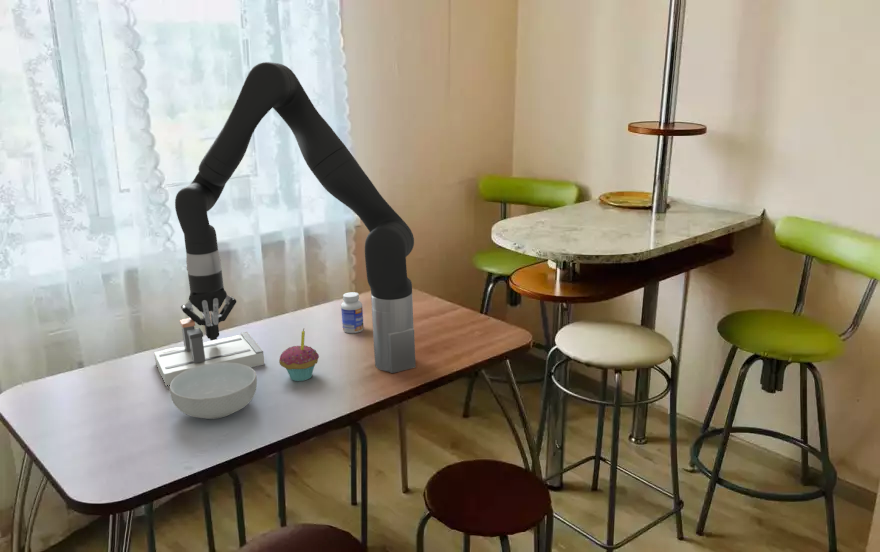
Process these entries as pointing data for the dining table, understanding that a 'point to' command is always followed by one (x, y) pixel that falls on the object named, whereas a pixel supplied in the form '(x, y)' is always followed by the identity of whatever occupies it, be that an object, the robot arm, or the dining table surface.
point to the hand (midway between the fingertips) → (213, 338)
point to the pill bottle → (352, 313)
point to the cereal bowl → (213, 389)
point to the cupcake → (299, 361)
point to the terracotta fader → (186, 325)
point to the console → (210, 355)
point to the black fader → (196, 345)
